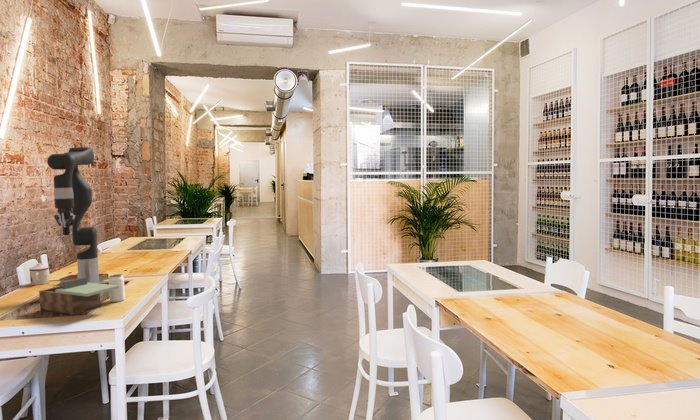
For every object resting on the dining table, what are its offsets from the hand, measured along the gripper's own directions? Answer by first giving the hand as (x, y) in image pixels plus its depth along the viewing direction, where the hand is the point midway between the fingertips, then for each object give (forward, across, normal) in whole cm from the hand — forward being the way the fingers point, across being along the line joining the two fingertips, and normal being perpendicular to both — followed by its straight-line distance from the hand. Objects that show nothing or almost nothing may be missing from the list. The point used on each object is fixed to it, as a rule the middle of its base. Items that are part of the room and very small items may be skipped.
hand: (66, 235), depth 205 cm
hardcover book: (+33, +38, -34) cm, 61 cm away
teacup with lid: (+32, +59, -22) cm, 71 cm away
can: (+32, -17, -11) cm, 38 cm away
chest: (+32, -9, +6) cm, 34 cm away
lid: (+23, -21, +6) cm, 31 cm away
